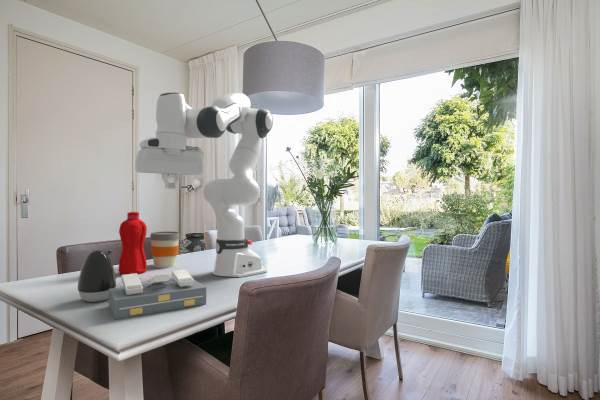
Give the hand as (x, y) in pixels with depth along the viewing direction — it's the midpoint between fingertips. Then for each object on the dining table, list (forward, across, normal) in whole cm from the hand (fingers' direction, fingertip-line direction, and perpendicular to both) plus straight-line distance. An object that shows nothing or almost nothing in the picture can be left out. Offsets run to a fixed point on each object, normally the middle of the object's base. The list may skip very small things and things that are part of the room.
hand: (170, 188), depth 110 cm
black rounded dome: (+34, +19, -9) cm, 40 cm away
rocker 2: (+27, +5, +6) cm, 28 cm away
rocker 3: (+27, -2, +6) cm, 28 cm away
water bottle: (+34, +4, -44) cm, 56 cm away
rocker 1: (+27, +12, +6) cm, 30 cm away
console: (+34, +5, +6) cm, 35 cm away
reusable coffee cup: (+34, -11, -51) cm, 62 cm away
